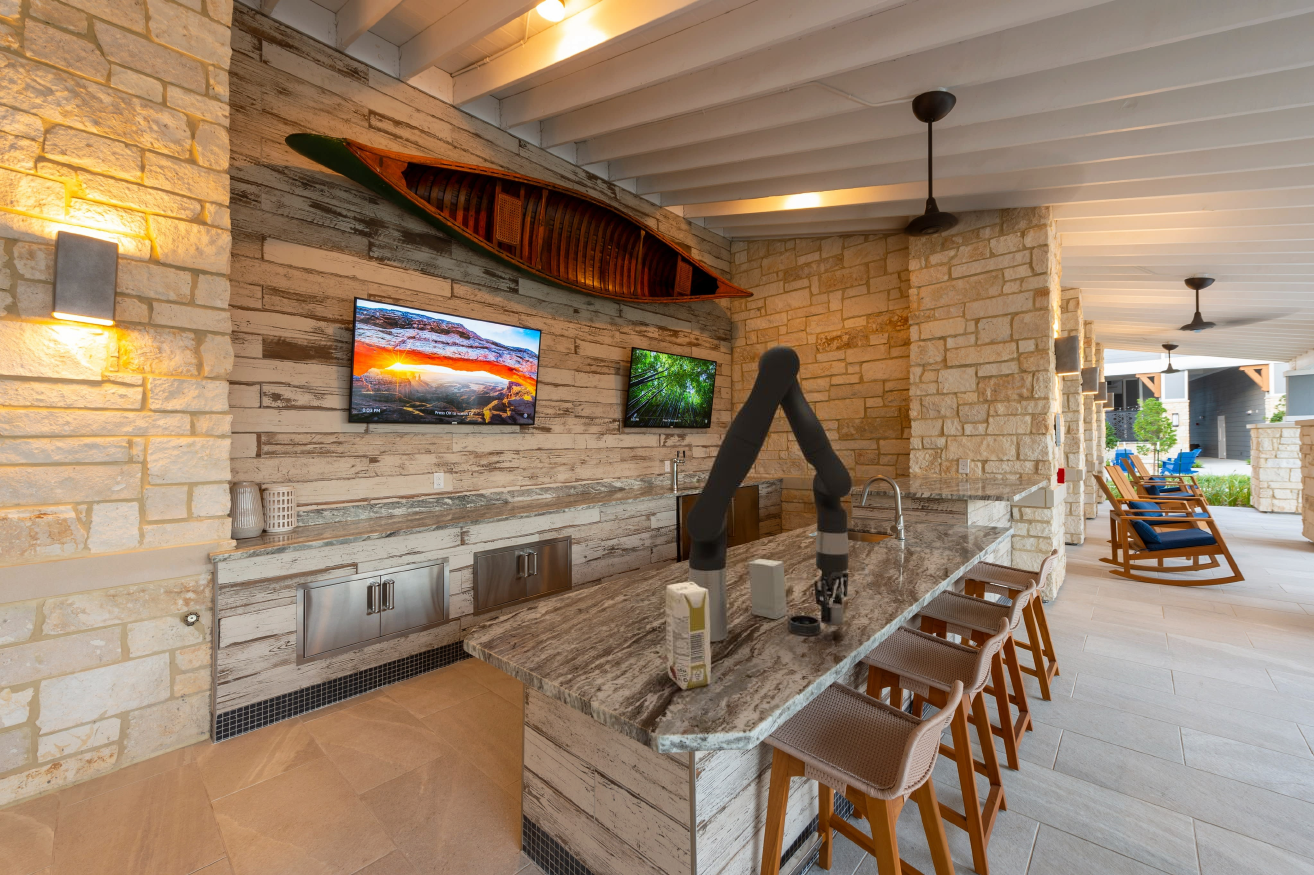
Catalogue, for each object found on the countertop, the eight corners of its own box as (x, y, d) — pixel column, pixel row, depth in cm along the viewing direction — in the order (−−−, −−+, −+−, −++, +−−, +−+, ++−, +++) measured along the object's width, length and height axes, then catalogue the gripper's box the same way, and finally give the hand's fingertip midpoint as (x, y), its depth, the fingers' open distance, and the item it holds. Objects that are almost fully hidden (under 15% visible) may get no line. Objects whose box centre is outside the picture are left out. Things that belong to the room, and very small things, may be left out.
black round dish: (796, 637, 129) (795, 626, 129) (783, 626, 136) (783, 616, 136) (825, 634, 130) (825, 624, 130) (812, 624, 138) (811, 614, 138)
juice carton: (681, 693, 101) (679, 594, 102) (663, 675, 109) (661, 584, 109) (715, 685, 104) (713, 589, 105) (695, 668, 112) (693, 579, 112)
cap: (836, 627, 124) (836, 610, 124) (816, 622, 128) (816, 605, 128) (847, 621, 128) (847, 604, 128) (827, 616, 132) (827, 600, 132)
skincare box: (787, 615, 145) (786, 561, 145) (775, 620, 141) (773, 565, 141) (762, 608, 151) (760, 557, 151) (749, 614, 147) (748, 560, 147)
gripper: (833, 556, 120) (833, 630, 120) (859, 547, 131) (859, 615, 131) (803, 552, 126) (803, 622, 126) (830, 543, 136) (830, 608, 136)
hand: (832, 618), depth 128 cm, fingers closed on cap, 5 cm apart
